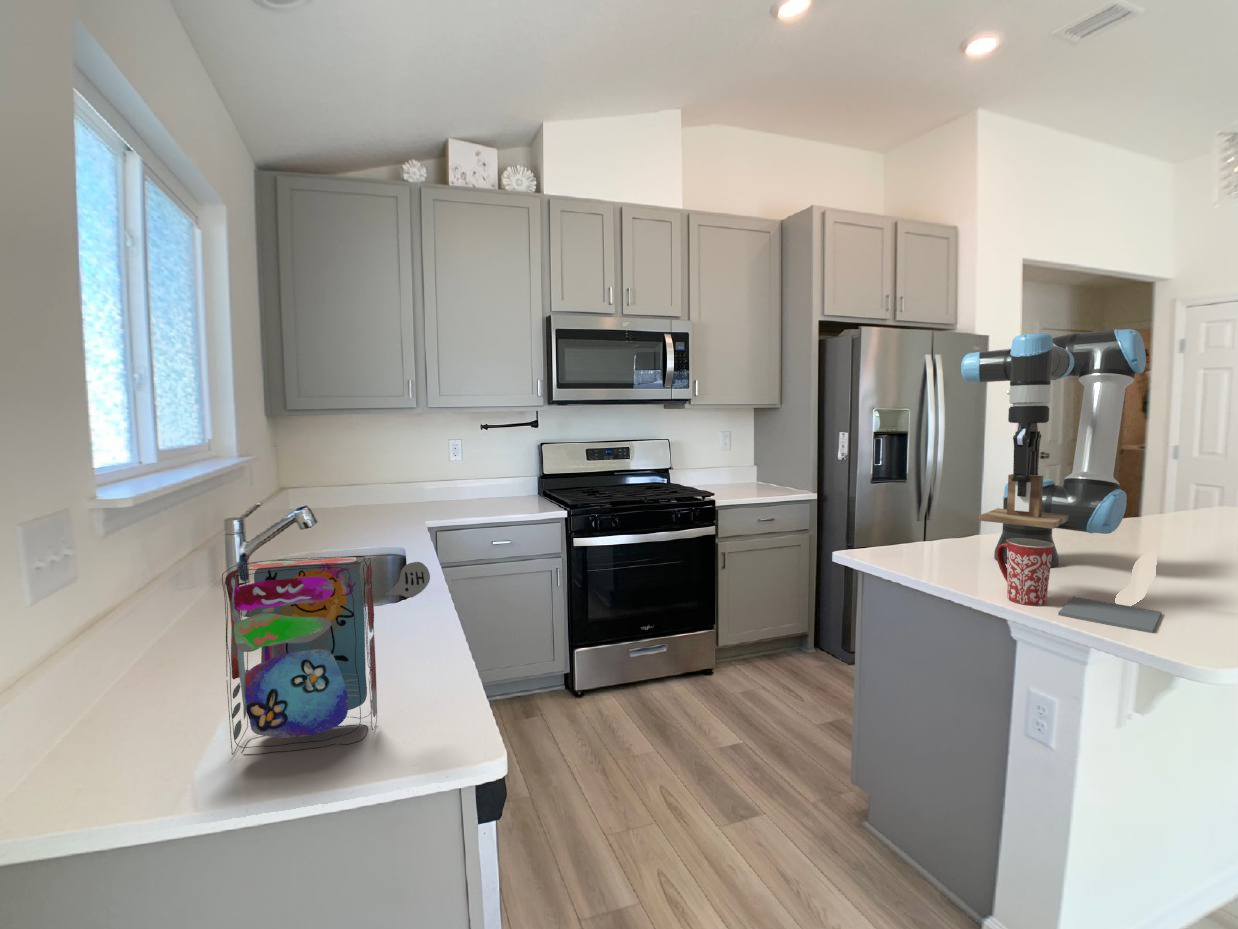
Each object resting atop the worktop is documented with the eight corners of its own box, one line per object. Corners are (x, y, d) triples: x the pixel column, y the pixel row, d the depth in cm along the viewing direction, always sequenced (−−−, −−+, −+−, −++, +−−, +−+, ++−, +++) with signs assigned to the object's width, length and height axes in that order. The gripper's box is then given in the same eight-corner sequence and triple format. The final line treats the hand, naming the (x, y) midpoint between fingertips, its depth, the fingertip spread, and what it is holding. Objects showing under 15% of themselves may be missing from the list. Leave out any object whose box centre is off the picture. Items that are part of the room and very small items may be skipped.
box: (437, 713, 90) (431, 549, 87) (434, 734, 84) (426, 559, 81) (249, 734, 84) (237, 561, 82) (231, 758, 78) (218, 572, 76)
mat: (1073, 599, 138) (1073, 596, 138) (1161, 614, 127) (1161, 611, 127) (1058, 615, 128) (1058, 612, 128) (1152, 633, 117) (1153, 630, 117)
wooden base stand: (997, 513, 147) (999, 471, 146) (1068, 520, 137) (1070, 475, 136) (979, 520, 138) (980, 475, 137) (1053, 528, 127) (1056, 480, 127)
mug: (1062, 605, 134) (1065, 545, 132) (1026, 608, 132) (1028, 547, 131) (1015, 589, 146) (1017, 534, 145) (982, 592, 144) (984, 535, 143)
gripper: (1019, 405, 143) (1014, 504, 145) (999, 405, 132) (994, 512, 134) (1057, 404, 138) (1052, 507, 140) (1040, 404, 127) (1034, 516, 129)
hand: (1024, 509), depth 137 cm, fingers closed on wooden base stand, 3 cm apart
